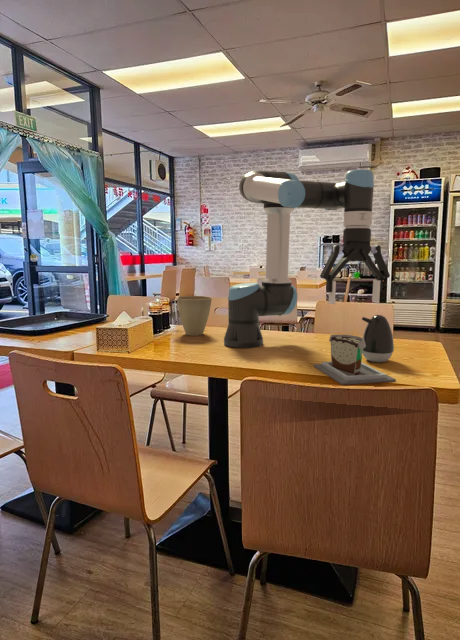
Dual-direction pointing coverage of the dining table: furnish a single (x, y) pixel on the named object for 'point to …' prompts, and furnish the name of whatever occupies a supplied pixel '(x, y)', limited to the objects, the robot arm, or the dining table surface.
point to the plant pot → (194, 313)
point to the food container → (347, 353)
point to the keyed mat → (364, 376)
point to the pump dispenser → (378, 339)
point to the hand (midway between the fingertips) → (353, 303)
